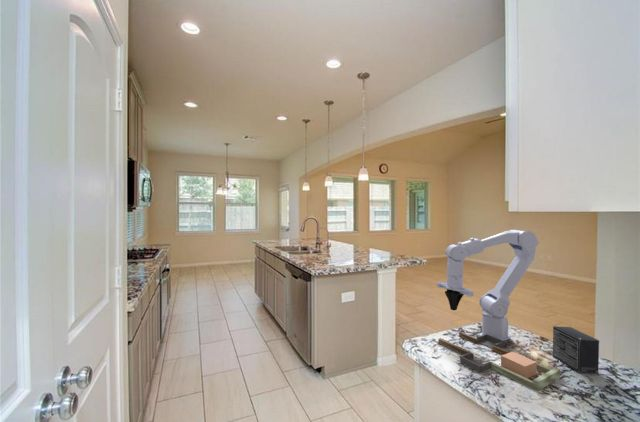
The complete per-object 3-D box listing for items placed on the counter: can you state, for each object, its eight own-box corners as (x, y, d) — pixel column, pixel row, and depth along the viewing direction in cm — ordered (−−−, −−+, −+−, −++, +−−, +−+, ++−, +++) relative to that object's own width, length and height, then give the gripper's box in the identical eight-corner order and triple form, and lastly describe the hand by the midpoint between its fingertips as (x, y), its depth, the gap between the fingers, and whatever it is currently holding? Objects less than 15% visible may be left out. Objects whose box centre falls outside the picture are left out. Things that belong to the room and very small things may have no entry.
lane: (461, 335, 113) (461, 329, 113) (560, 377, 85) (560, 369, 85) (438, 342, 106) (438, 336, 106) (537, 391, 78) (537, 382, 78)
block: (512, 363, 93) (512, 351, 93) (536, 375, 86) (536, 362, 86) (501, 368, 90) (501, 355, 90) (524, 380, 84) (524, 366, 84)
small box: (600, 374, 87) (601, 340, 87) (579, 373, 87) (579, 339, 87) (570, 356, 97) (571, 326, 97) (551, 356, 98) (551, 325, 97)
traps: (485, 339, 110) (485, 333, 110) (523, 354, 98) (523, 348, 98) (443, 354, 98) (443, 348, 98) (480, 373, 86) (480, 366, 86)
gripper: (432, 272, 117) (431, 305, 117) (465, 280, 104) (464, 317, 104) (444, 271, 120) (442, 303, 120) (477, 278, 107) (476, 314, 108)
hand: (453, 309), depth 112 cm, fingers closed
